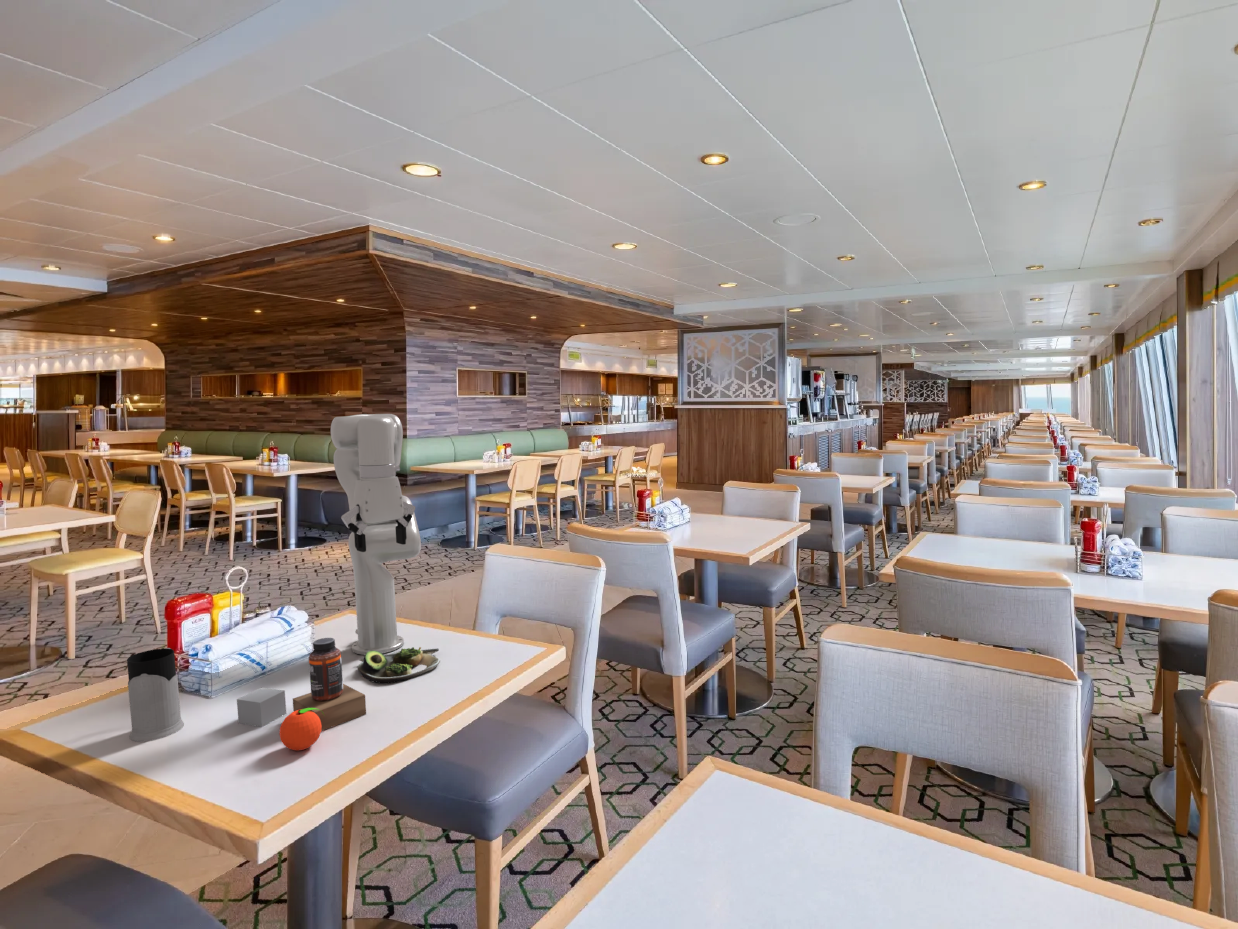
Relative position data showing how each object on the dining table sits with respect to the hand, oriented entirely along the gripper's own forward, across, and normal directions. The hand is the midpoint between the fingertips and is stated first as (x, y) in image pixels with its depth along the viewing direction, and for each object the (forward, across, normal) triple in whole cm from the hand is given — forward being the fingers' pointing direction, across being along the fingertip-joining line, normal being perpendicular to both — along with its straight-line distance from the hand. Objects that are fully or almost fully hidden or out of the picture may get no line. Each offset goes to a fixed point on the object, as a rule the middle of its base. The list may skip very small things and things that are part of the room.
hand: (381, 547), depth 154 cm
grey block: (+30, +28, +1) cm, 41 cm away
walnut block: (+30, +19, +11) cm, 37 cm away
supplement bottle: (+26, +19, +10) cm, 33 cm away
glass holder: (+30, +42, -12) cm, 53 cm away
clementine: (+30, +27, +20) cm, 45 cm away
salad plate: (+31, -3, -2) cm, 31 cm away
